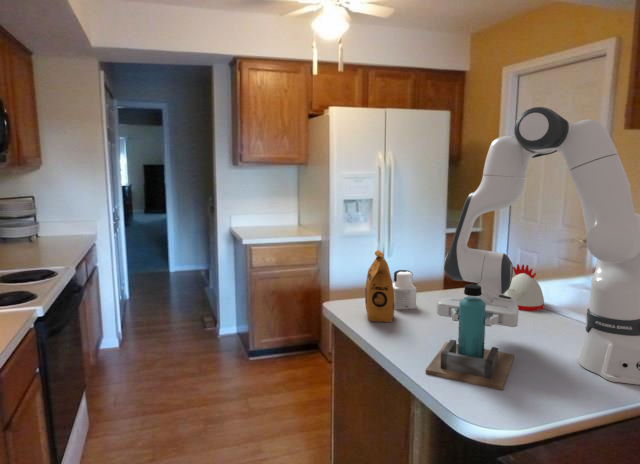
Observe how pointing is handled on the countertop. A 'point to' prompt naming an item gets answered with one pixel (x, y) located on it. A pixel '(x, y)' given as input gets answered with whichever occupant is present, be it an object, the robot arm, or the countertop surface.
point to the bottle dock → (472, 366)
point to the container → (404, 290)
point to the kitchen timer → (525, 290)
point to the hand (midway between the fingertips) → (471, 320)
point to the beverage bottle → (472, 323)
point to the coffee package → (379, 291)
